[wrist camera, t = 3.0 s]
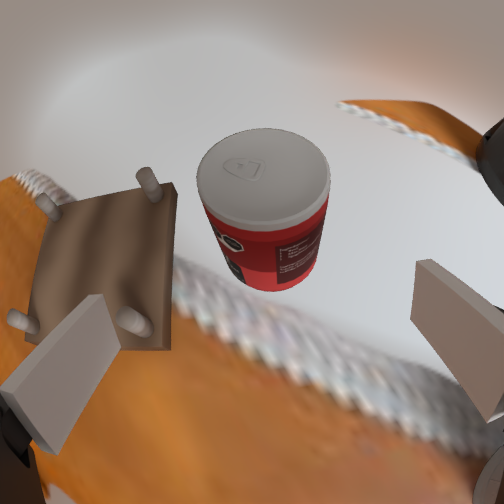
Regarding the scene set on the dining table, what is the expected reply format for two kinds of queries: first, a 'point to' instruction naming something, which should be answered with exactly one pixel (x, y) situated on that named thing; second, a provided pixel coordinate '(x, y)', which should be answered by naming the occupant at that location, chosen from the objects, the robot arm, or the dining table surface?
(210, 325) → the dining table surface
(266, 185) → the canned food
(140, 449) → the dining table surface
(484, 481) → the grey mug
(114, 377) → the dining table surface
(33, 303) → the peg board
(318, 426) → the dining table surface
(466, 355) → the robot arm
